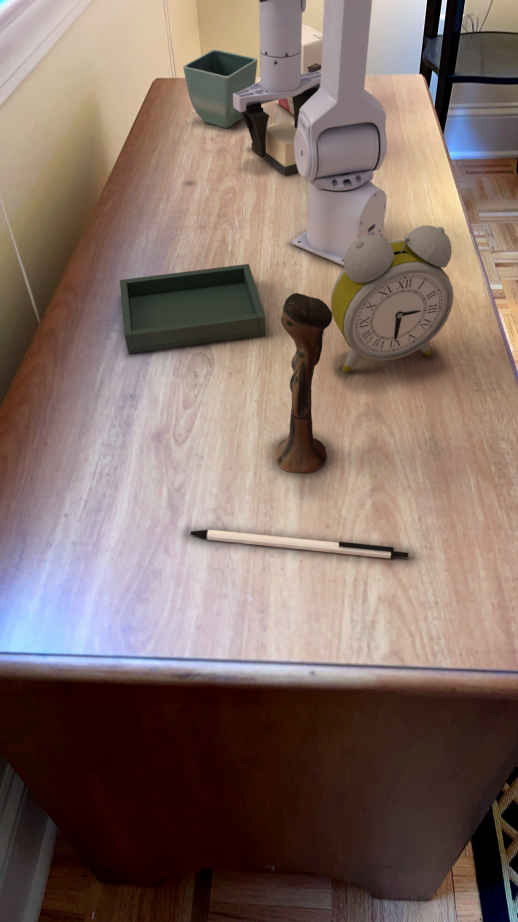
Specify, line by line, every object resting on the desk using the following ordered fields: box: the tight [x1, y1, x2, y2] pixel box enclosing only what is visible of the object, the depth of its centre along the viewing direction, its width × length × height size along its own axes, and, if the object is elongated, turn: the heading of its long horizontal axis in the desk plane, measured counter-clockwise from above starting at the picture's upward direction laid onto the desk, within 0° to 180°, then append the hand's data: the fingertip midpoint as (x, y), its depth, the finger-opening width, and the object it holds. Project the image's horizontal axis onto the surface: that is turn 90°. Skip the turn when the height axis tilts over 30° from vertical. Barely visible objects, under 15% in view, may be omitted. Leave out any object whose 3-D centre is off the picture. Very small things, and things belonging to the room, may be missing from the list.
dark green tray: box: [119, 263, 266, 355], centre depth 80 cm, size 16×11×3 cm
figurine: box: [275, 292, 333, 474], centre depth 60 cm, size 7×5×18 cm
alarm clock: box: [330, 224, 454, 373], centre depth 70 cm, size 12×7×15 cm, turn 105°
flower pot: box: [182, 49, 258, 129], centre depth 112 cm, size 9×9×9 cm
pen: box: [188, 529, 409, 560], centre depth 59 cm, size 1×19×1 cm, turn 82°
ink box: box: [277, 23, 323, 116], centre depth 113 cm, size 8×5×12 cm, turn 28°
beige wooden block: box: [251, 121, 299, 177], centre depth 104 cm, size 10×4×5 cm, turn 30°
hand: (280, 148), depth 105 cm, fingers open, 7 cm apart
